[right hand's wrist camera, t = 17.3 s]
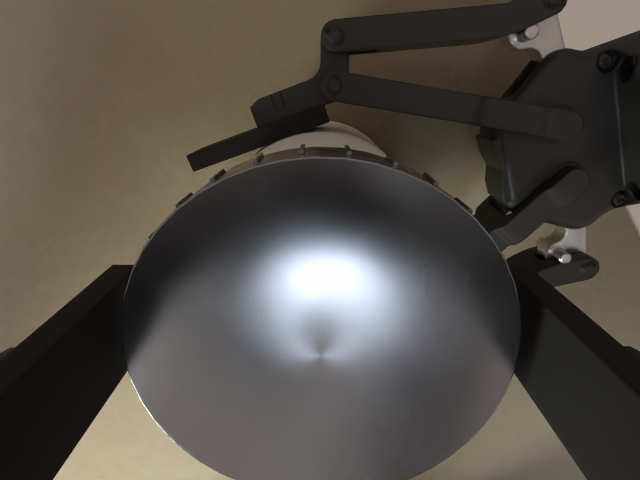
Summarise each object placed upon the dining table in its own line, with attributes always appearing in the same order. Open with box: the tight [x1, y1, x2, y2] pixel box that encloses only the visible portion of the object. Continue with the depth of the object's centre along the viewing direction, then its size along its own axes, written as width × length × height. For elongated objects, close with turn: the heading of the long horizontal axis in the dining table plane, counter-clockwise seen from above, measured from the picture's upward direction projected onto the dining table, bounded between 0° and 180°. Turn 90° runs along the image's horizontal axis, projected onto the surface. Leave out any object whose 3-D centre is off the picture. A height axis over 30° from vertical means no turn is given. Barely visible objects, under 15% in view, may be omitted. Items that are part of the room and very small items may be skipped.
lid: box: [121, 144, 521, 480], centre depth 11 cm, size 10×10×2 cm
